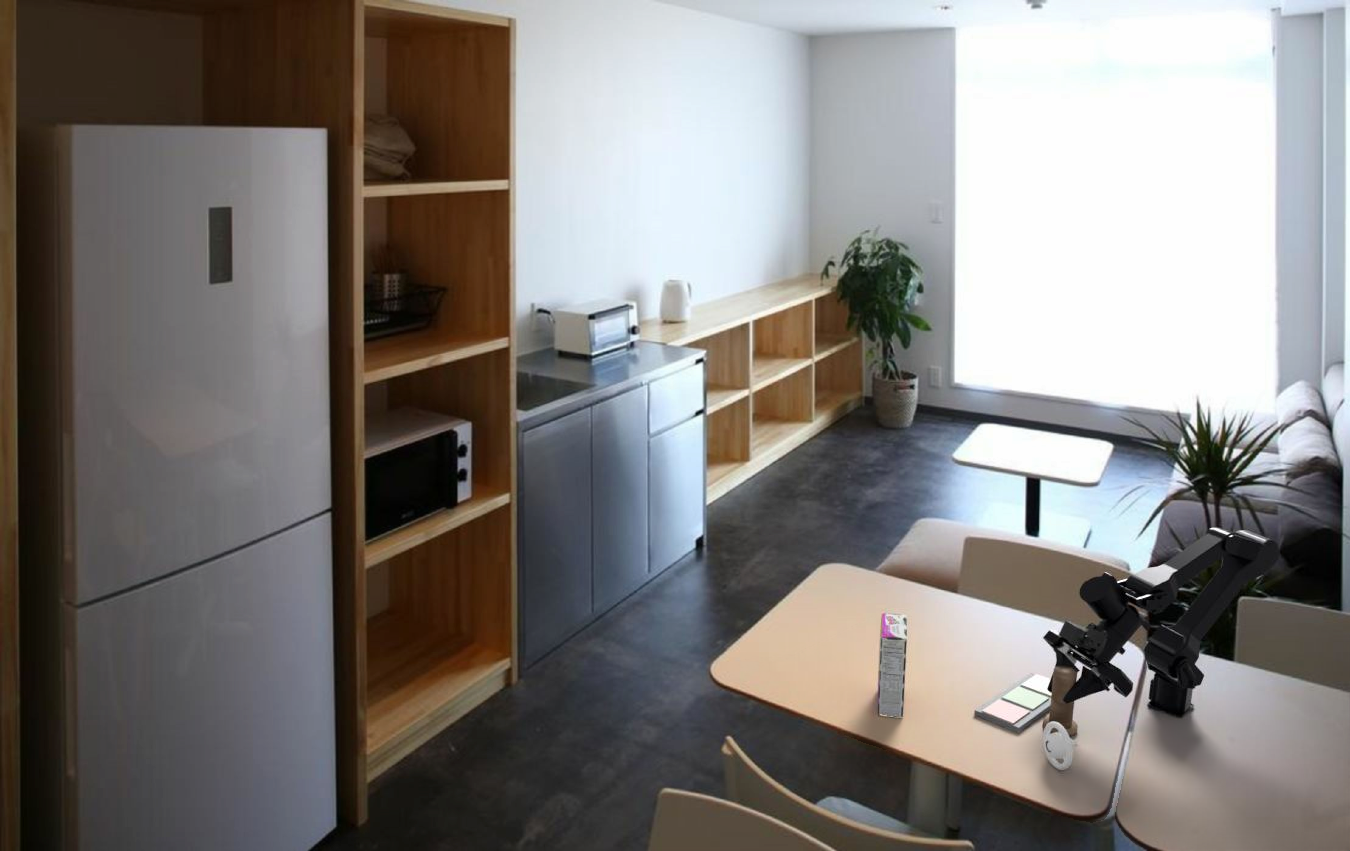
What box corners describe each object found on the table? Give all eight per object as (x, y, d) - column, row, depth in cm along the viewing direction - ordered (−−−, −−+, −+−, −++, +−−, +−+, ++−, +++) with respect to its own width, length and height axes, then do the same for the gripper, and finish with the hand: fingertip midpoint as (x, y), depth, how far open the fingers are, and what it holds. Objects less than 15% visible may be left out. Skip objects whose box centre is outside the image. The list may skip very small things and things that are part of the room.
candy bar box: (876, 689, 207) (881, 611, 203) (902, 691, 206) (907, 614, 202) (876, 716, 196) (880, 635, 193) (903, 719, 195) (908, 638, 192)
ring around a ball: (1033, 755, 183) (1037, 713, 182) (1062, 751, 185) (1066, 710, 183) (1059, 780, 176) (1063, 737, 174) (1089, 776, 177) (1094, 733, 175)
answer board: (1073, 692, 206) (1074, 686, 206) (1018, 732, 191) (1019, 726, 191) (1030, 677, 212) (1031, 671, 212) (974, 714, 197) (974, 708, 197)
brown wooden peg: (1082, 728, 193) (1089, 671, 190) (1067, 740, 188) (1073, 681, 186) (1052, 716, 197) (1057, 660, 194) (1036, 727, 193) (1042, 670, 190)
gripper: (1055, 588, 197) (1001, 650, 196) (1126, 627, 180) (1067, 696, 179) (1086, 622, 201) (1033, 682, 200) (1158, 663, 184) (1100, 730, 183)
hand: (1056, 696), depth 191 cm, fingers closed on brown wooden peg, 4 cm apart
